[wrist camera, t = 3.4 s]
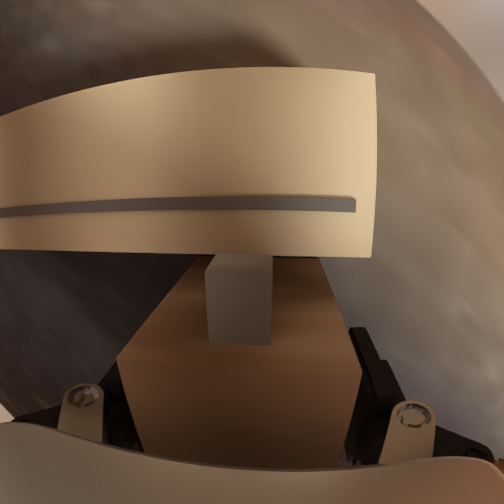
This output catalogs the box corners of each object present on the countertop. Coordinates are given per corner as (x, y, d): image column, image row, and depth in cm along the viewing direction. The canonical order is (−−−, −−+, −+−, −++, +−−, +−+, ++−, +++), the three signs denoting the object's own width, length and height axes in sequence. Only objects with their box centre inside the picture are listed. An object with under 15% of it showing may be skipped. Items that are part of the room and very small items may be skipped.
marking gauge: (321, 218, 11) (376, 293, 5) (302, 422, 14) (306, 544, 7) (197, 216, 12) (101, 284, 5) (212, 418, 14) (181, 535, 8)
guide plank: (343, 102, 10) (376, 72, 6) (341, 226, 11) (372, 258, 7) (-38, 153, 12) (-89, 160, 8) (-33, 229, 13) (-83, 247, 9)
